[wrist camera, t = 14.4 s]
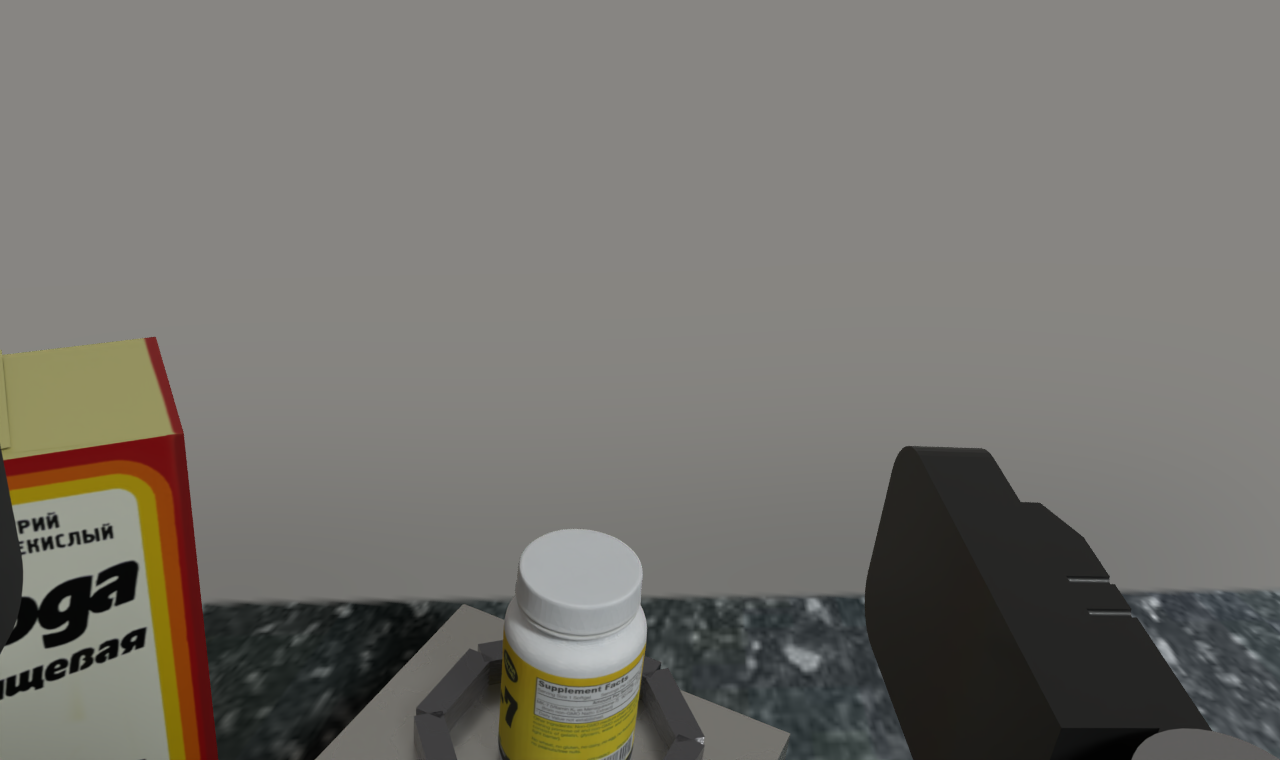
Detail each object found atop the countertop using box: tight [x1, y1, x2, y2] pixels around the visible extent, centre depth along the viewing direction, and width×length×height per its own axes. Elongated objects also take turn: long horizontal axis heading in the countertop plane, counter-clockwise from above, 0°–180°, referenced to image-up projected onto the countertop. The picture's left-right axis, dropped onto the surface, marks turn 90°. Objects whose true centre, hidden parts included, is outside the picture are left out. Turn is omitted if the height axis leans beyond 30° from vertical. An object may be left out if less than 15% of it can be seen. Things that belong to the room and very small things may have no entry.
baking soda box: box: [0, 337, 218, 760], centre depth 42 cm, size 10×6×16 cm
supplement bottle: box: [498, 529, 647, 760], centre depth 41 cm, size 5×5×8 cm
